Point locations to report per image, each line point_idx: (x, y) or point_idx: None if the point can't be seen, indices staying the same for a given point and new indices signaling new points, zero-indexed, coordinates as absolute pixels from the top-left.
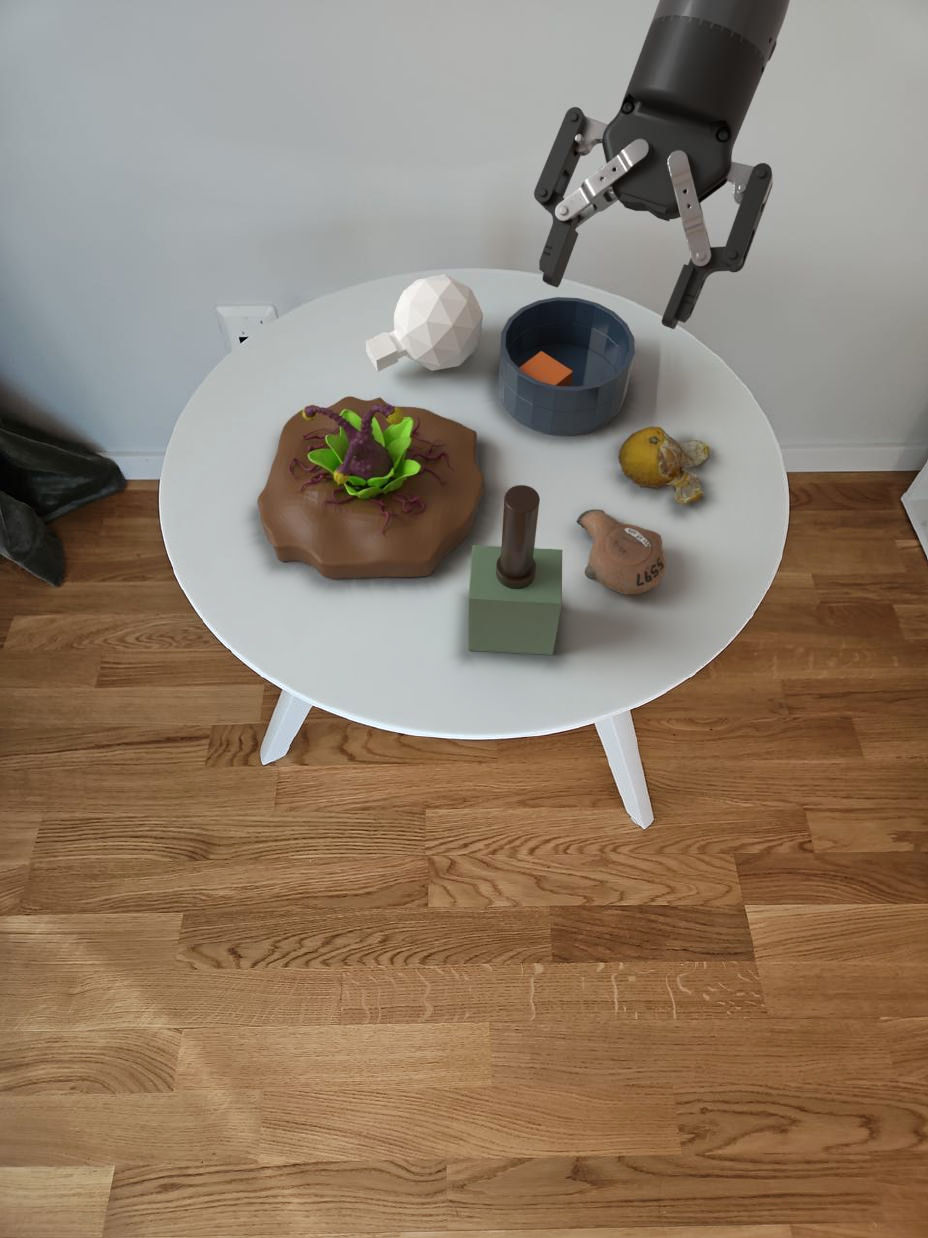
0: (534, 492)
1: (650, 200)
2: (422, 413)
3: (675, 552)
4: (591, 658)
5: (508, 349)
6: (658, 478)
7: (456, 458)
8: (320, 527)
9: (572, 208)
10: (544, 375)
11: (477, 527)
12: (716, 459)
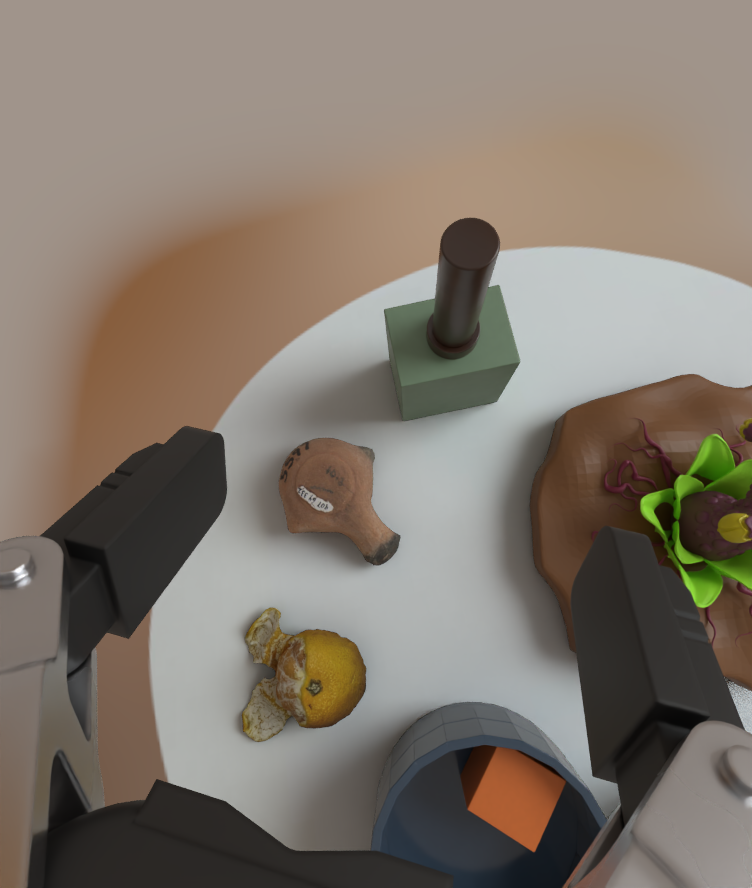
0: (453, 258)
1: (243, 868)
2: None
3: (273, 533)
4: (348, 366)
5: None
6: (303, 632)
7: None
8: (726, 411)
9: (708, 787)
10: (512, 785)
11: (523, 507)
12: (232, 712)
